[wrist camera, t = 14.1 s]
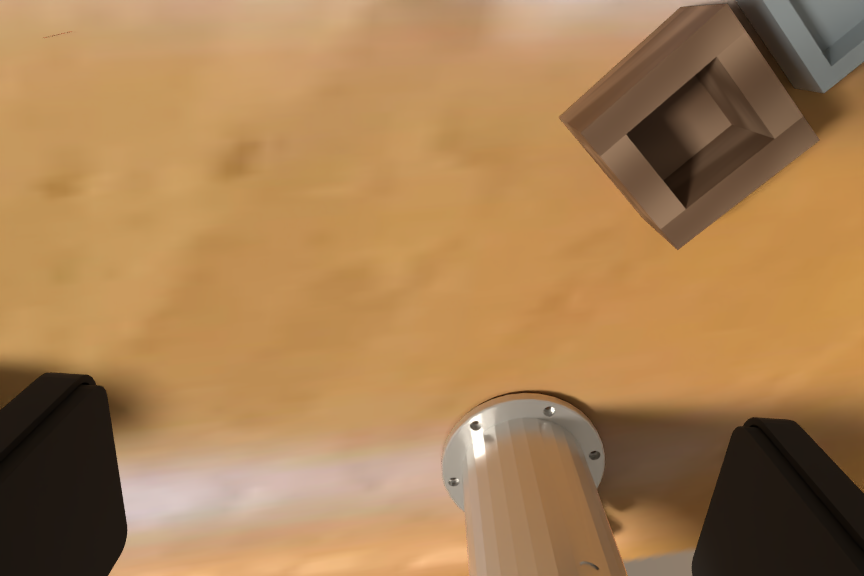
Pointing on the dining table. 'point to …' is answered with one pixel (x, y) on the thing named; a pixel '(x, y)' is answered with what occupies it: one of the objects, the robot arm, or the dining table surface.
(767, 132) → the holder block
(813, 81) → the tray
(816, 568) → the robot arm
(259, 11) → the dining table surface
